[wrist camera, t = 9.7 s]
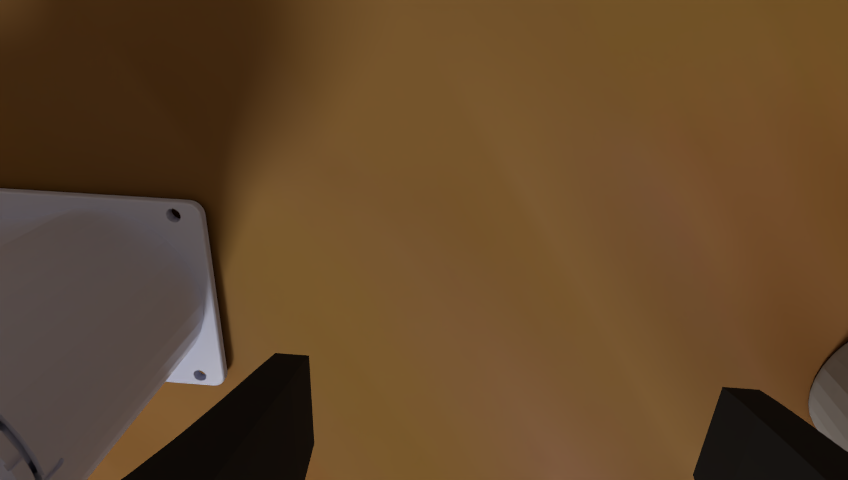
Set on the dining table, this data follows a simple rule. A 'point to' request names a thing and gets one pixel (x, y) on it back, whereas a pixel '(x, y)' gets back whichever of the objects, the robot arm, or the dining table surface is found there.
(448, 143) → the dining table surface
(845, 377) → the coffee cup
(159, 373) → the robot arm
